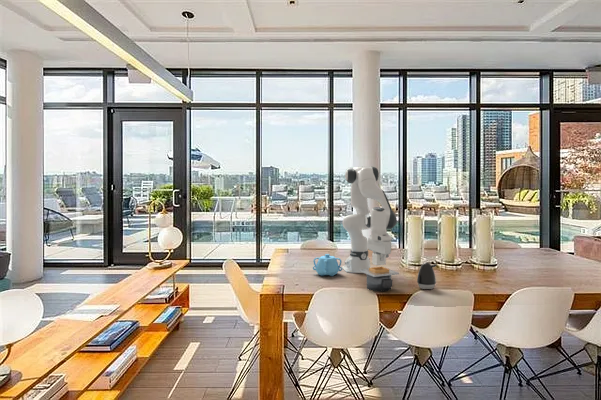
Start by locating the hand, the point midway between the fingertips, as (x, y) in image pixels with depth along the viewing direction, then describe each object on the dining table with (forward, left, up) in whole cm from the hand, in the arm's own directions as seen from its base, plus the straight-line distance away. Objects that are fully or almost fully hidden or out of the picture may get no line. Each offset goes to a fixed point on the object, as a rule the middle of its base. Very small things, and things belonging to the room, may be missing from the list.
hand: (378, 259), depth 245 cm
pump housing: (0, +1, -2) cm, 3 cm away
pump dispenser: (+12, +24, -17) cm, 32 cm away
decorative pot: (-44, -12, -17) cm, 49 cm away
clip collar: (0, 0, -6) cm, 6 cm away
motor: (0, 0, -16) cm, 16 cm away
